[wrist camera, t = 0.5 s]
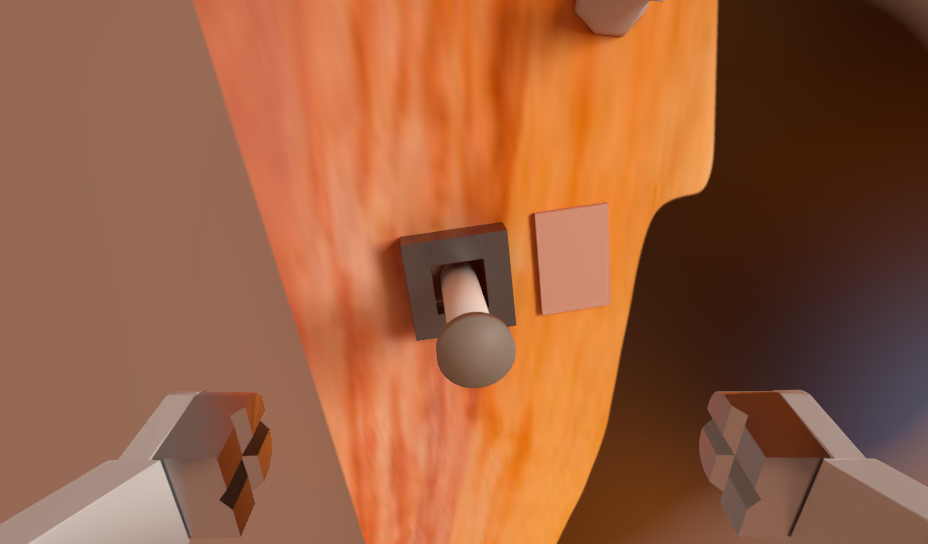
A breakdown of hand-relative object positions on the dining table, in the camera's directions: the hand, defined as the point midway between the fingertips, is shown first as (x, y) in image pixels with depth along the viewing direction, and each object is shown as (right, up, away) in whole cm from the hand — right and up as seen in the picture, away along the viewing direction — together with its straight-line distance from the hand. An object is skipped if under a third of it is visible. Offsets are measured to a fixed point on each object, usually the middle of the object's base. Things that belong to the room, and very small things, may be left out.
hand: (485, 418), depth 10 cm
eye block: (-1, +2, +49) cm, 49 cm away
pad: (+12, +4, +50) cm, 51 cm away
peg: (-1, +2, +49) cm, 49 cm away
